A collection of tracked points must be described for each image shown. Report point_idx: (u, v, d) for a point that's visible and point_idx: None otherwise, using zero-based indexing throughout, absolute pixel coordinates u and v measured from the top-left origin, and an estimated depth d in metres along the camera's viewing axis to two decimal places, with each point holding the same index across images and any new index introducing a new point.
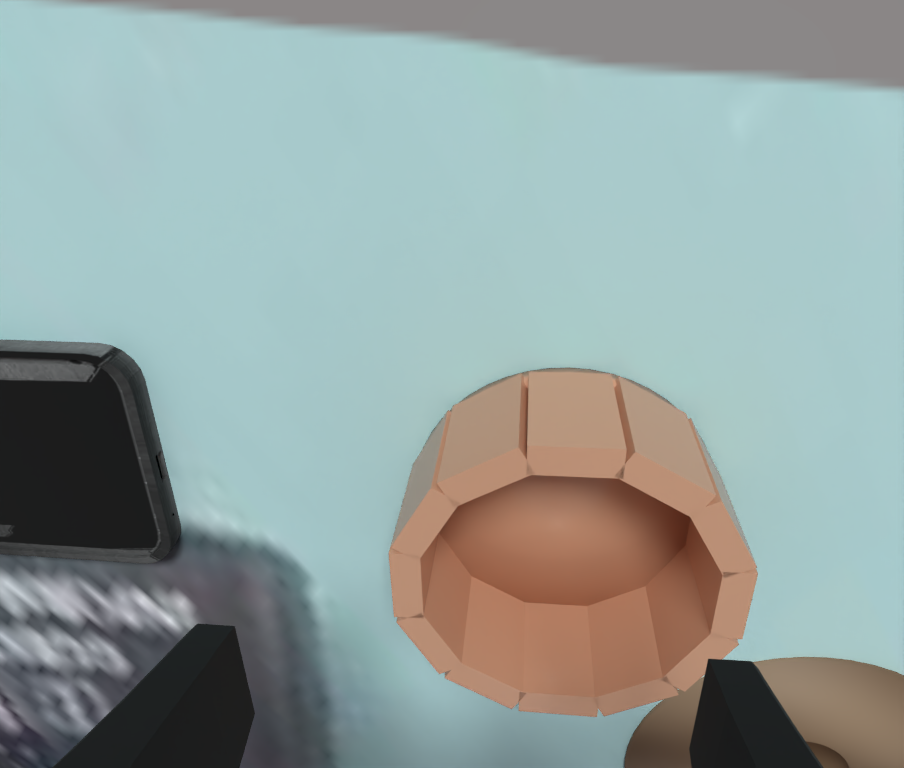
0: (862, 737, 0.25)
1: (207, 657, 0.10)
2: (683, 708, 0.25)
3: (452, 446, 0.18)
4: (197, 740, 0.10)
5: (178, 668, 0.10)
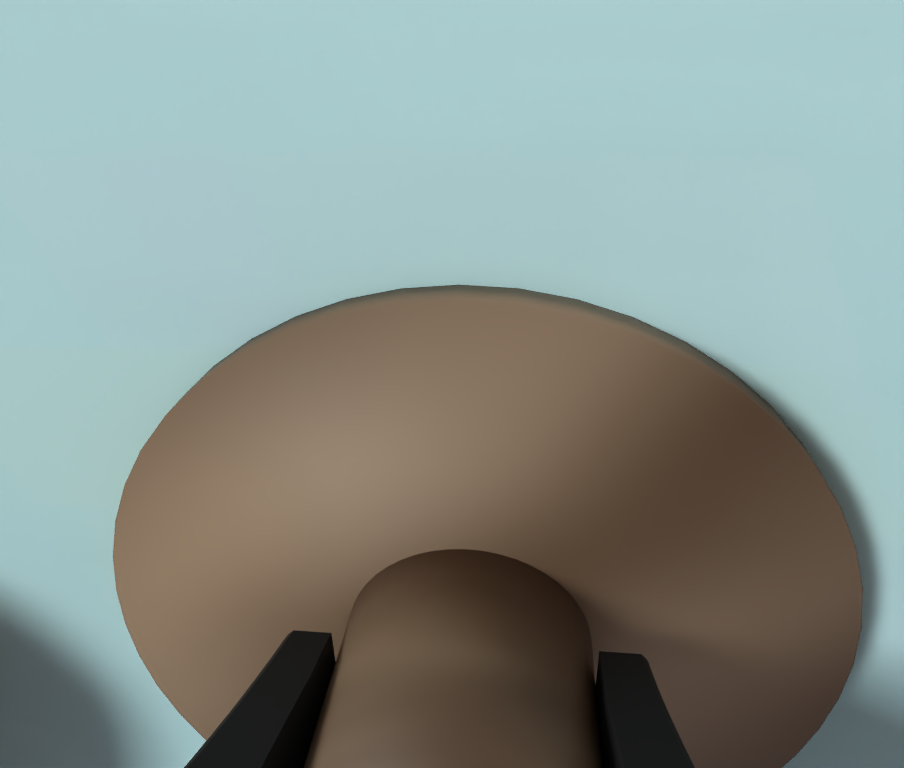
0: (384, 500, 0.10)
1: (311, 665, 0.10)
2: (207, 708, 0.13)
3: None
4: (304, 749, 0.10)
5: (284, 676, 0.10)
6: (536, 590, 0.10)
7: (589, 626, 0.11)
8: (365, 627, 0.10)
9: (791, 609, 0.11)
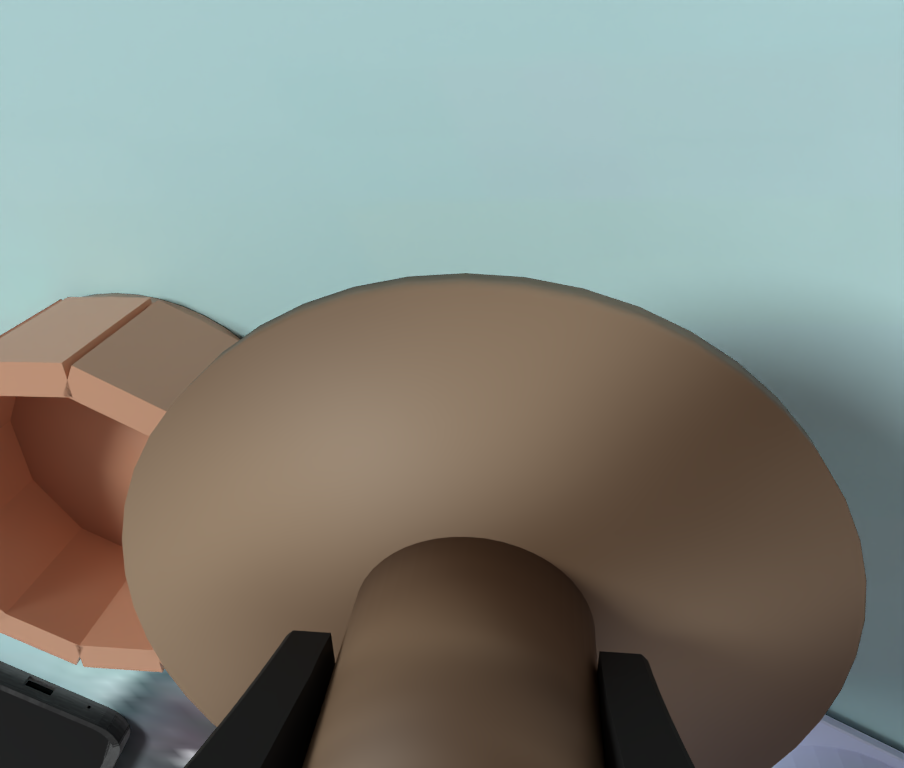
0: (389, 487, 0.10)
1: (311, 665, 0.10)
2: (214, 691, 0.13)
3: None
4: (303, 749, 0.10)
5: (284, 676, 0.10)
6: (540, 578, 0.10)
7: (592, 615, 0.11)
8: (370, 612, 0.10)
9: (794, 600, 0.11)
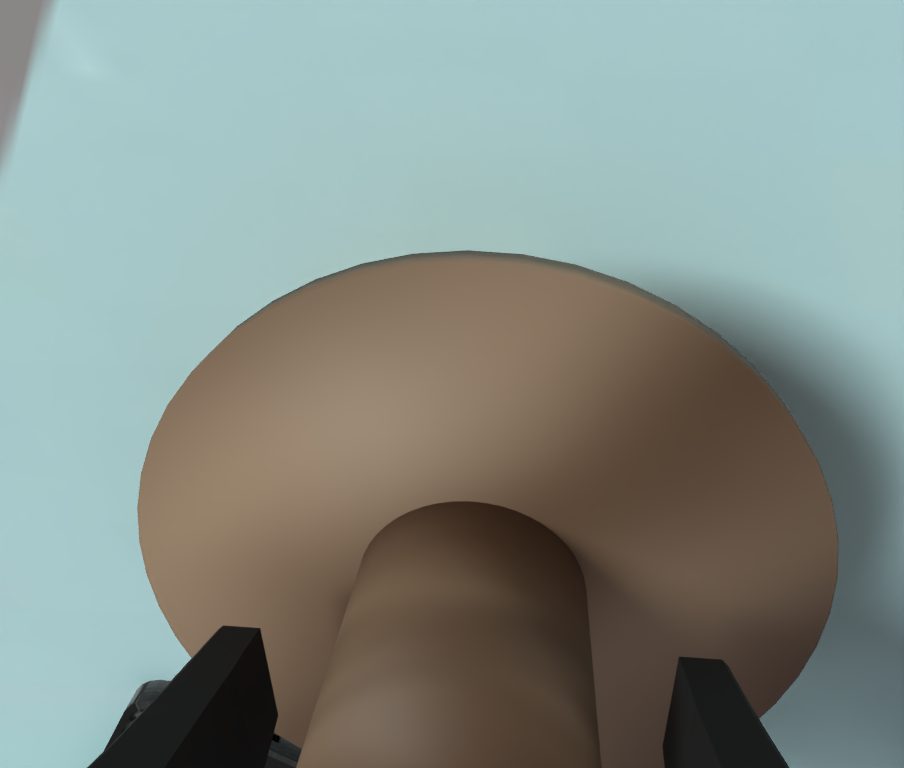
0: (394, 454, 0.11)
1: (234, 659, 0.10)
2: None
3: None
4: (225, 742, 0.10)
5: (206, 670, 0.10)
6: (535, 538, 0.11)
7: (584, 576, 0.12)
8: (376, 570, 0.11)
9: (772, 559, 0.11)
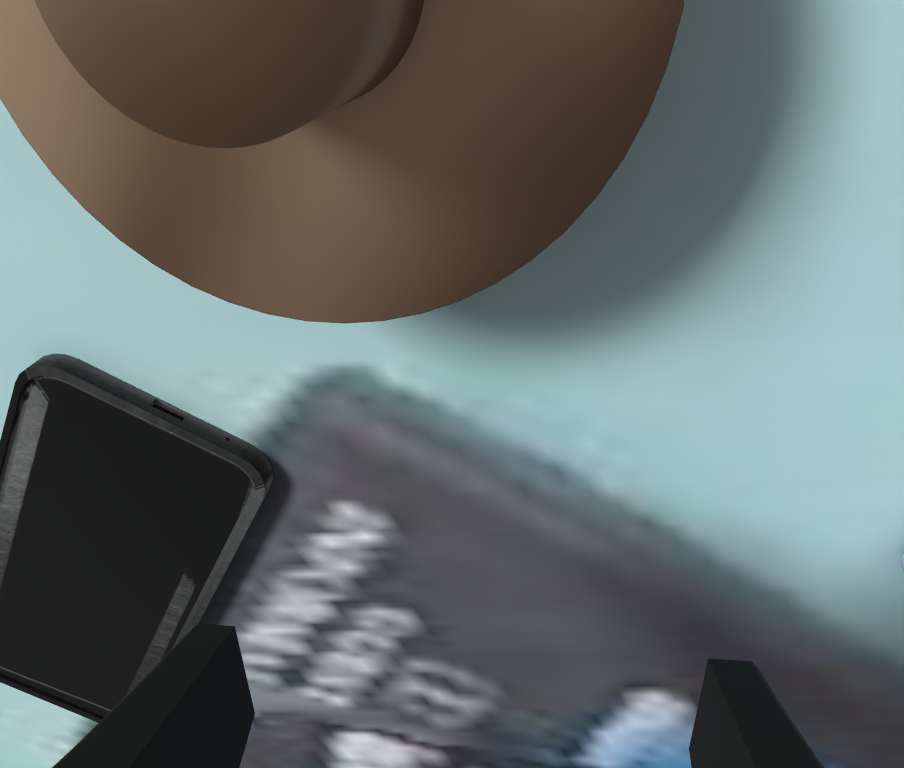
0: None
1: (207, 657, 0.10)
2: (50, 123, 0.13)
3: None
4: (197, 740, 0.10)
5: (178, 668, 0.10)
6: None
7: None
8: None
9: None
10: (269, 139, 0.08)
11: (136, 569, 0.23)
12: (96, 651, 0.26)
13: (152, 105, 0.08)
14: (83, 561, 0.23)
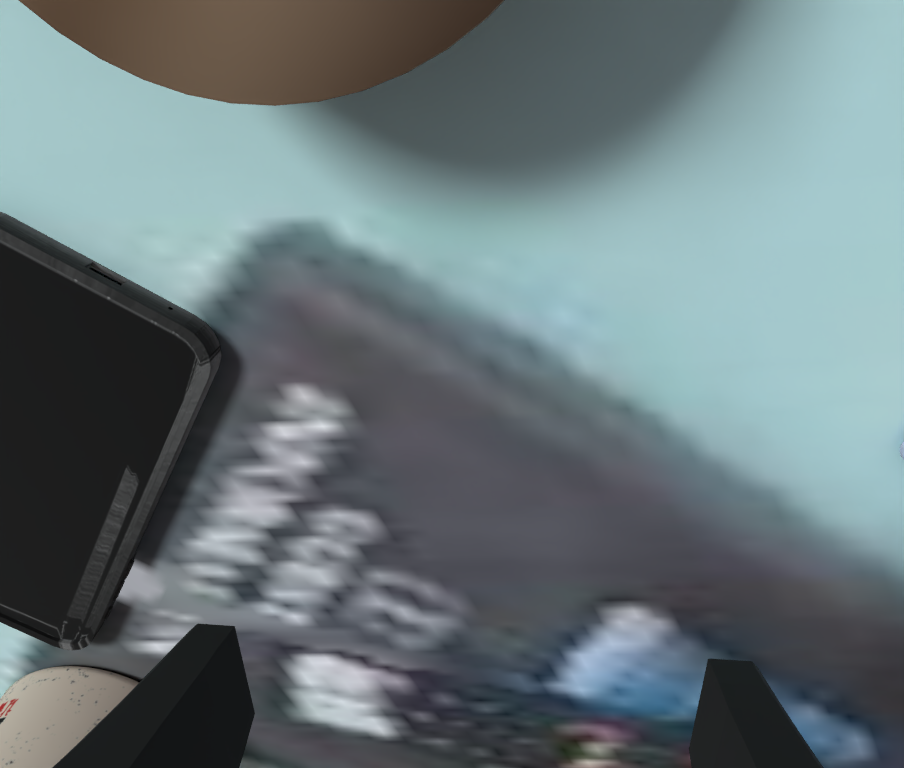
0: None
1: (207, 657, 0.10)
2: None
3: None
4: (197, 740, 0.10)
5: (178, 668, 0.10)
6: None
7: None
8: None
9: None
10: None
11: (75, 461, 0.22)
12: (36, 557, 0.24)
13: None
14: (18, 452, 0.22)
